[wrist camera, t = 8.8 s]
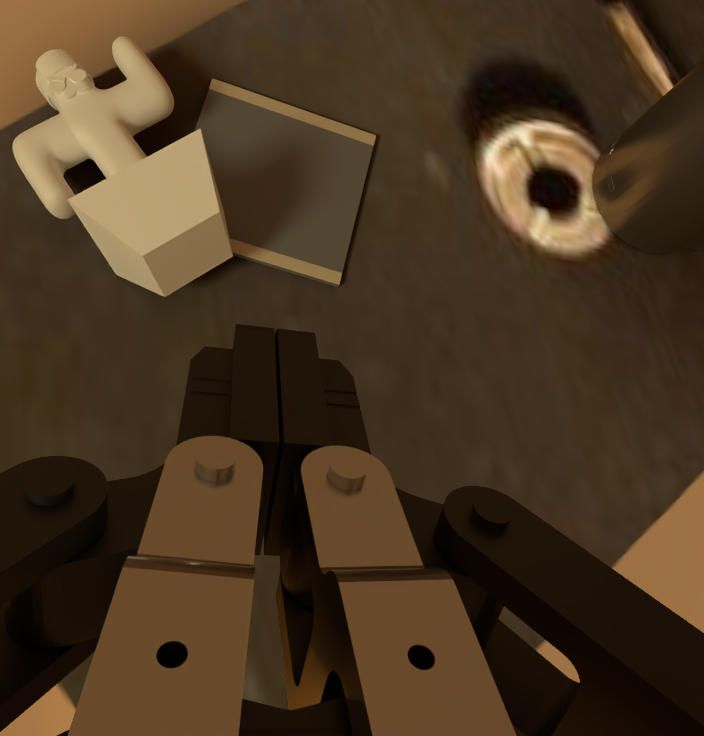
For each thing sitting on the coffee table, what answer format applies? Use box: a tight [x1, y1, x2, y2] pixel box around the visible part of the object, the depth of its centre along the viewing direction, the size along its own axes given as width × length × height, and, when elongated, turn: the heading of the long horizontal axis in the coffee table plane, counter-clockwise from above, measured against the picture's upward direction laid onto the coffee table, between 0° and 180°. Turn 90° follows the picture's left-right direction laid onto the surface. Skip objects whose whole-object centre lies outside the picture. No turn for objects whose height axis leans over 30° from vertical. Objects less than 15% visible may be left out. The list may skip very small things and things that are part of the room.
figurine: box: [13, 36, 233, 297], centre depth 36 cm, size 7×9×15 cm
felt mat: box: [194, 78, 376, 287], centre depth 41 cm, size 11×11×1 cm
